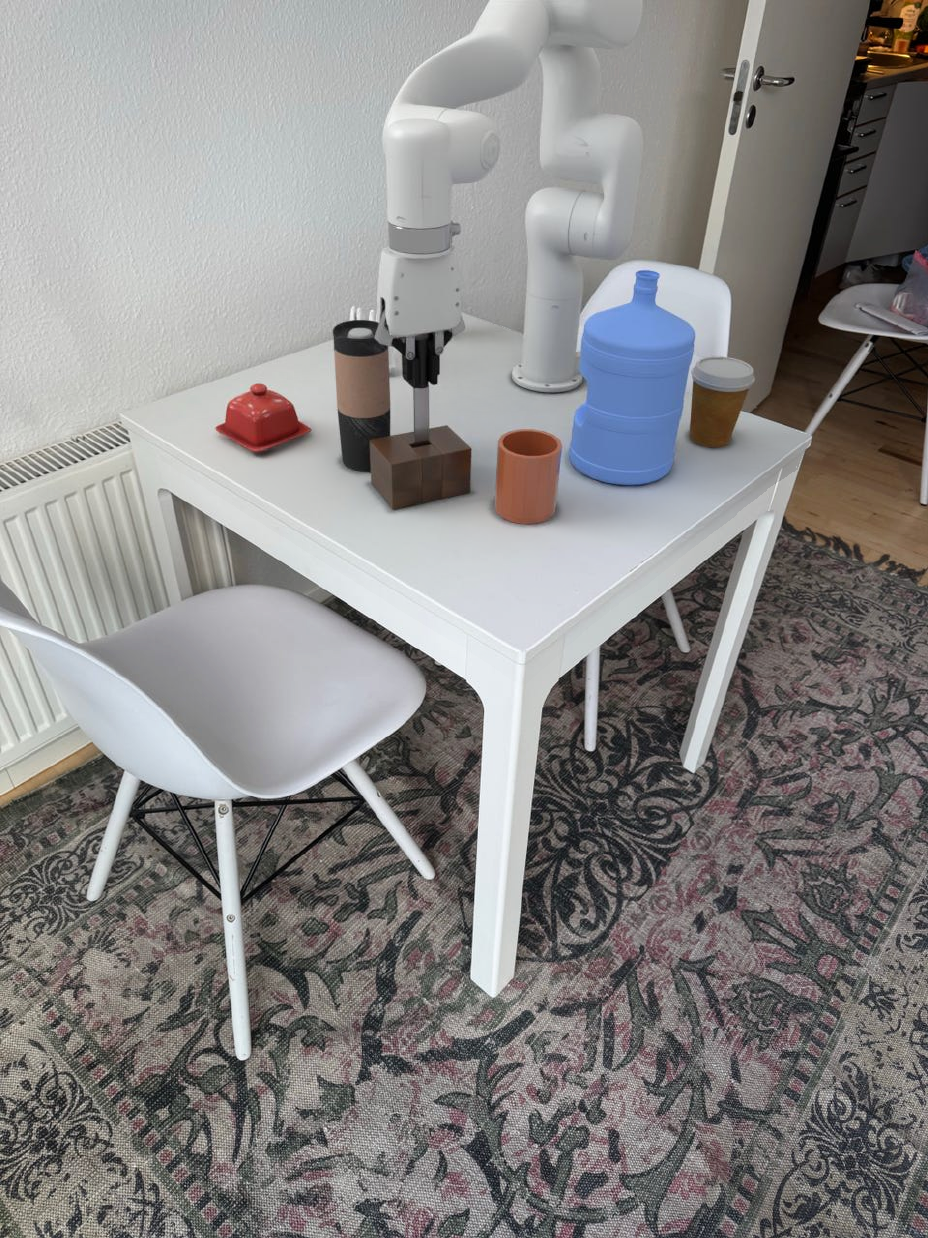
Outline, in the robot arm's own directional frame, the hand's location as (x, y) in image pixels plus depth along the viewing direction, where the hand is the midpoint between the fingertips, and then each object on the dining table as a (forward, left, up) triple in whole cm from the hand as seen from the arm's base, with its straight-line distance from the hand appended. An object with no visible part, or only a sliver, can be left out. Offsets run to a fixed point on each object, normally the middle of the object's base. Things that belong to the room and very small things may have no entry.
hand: (421, 381), depth 118 cm
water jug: (-31, +5, -16) cm, 35 cm away
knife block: (0, 0, -16) cm, 16 cm away
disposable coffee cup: (-49, +4, -16) cm, 52 cm away
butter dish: (+16, -25, -16) cm, 34 cm away
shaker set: (-10, -44, -16) cm, 48 cm away
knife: (0, 0, -10) cm, 10 cm away
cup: (-11, +11, -16) cm, 22 cm away
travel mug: (+4, -11, -16) cm, 20 cm away
